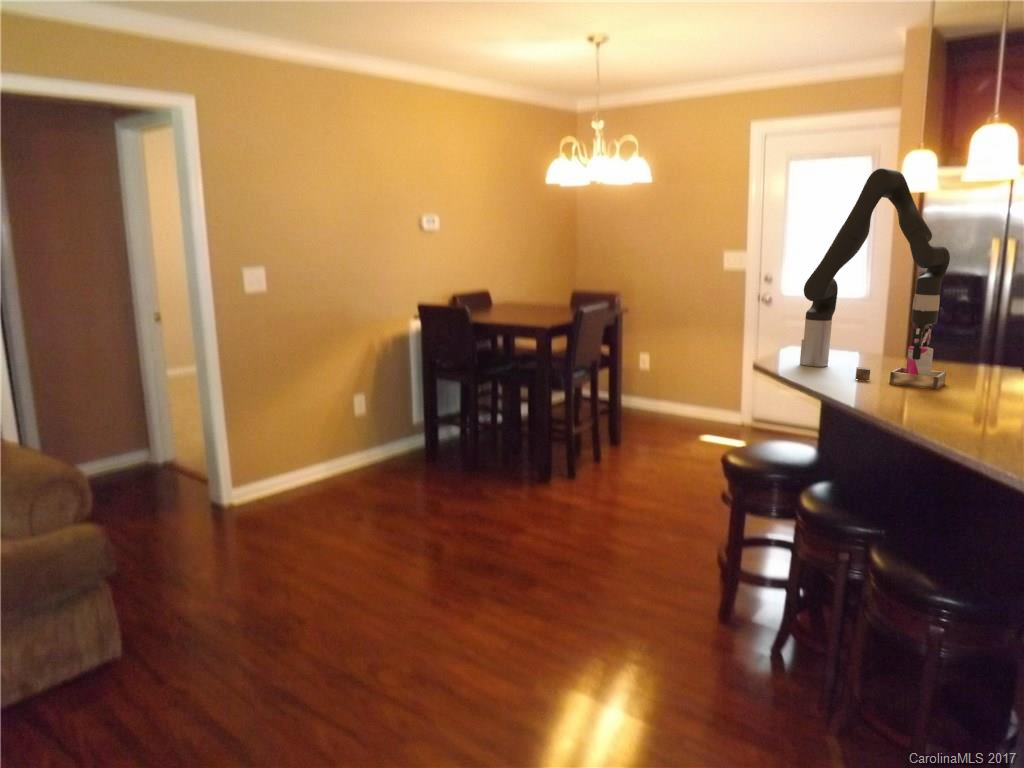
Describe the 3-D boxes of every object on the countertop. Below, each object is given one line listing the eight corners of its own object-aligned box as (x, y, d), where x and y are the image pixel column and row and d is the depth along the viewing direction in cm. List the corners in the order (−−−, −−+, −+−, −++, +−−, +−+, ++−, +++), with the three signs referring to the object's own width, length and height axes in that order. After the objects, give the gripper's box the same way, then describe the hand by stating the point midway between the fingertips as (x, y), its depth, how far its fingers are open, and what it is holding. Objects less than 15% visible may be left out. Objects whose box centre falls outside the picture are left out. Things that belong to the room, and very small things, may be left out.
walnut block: (856, 380, 255) (857, 368, 254) (855, 378, 258) (856, 366, 258) (869, 381, 253) (870, 369, 253) (868, 379, 257) (869, 367, 256)
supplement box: (922, 379, 251) (926, 346, 249) (930, 383, 246) (934, 348, 243) (904, 379, 252) (908, 345, 250) (911, 383, 246) (915, 348, 244)
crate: (889, 383, 249) (890, 372, 248) (898, 378, 258) (899, 367, 257) (936, 389, 240) (938, 377, 239) (944, 384, 249) (946, 372, 248)
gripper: (918, 305, 251) (912, 353, 255) (907, 309, 241) (901, 359, 244) (943, 307, 247) (936, 356, 250) (933, 311, 236) (926, 361, 239)
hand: (919, 357), depth 247 cm, fingers open, 8 cm apart
